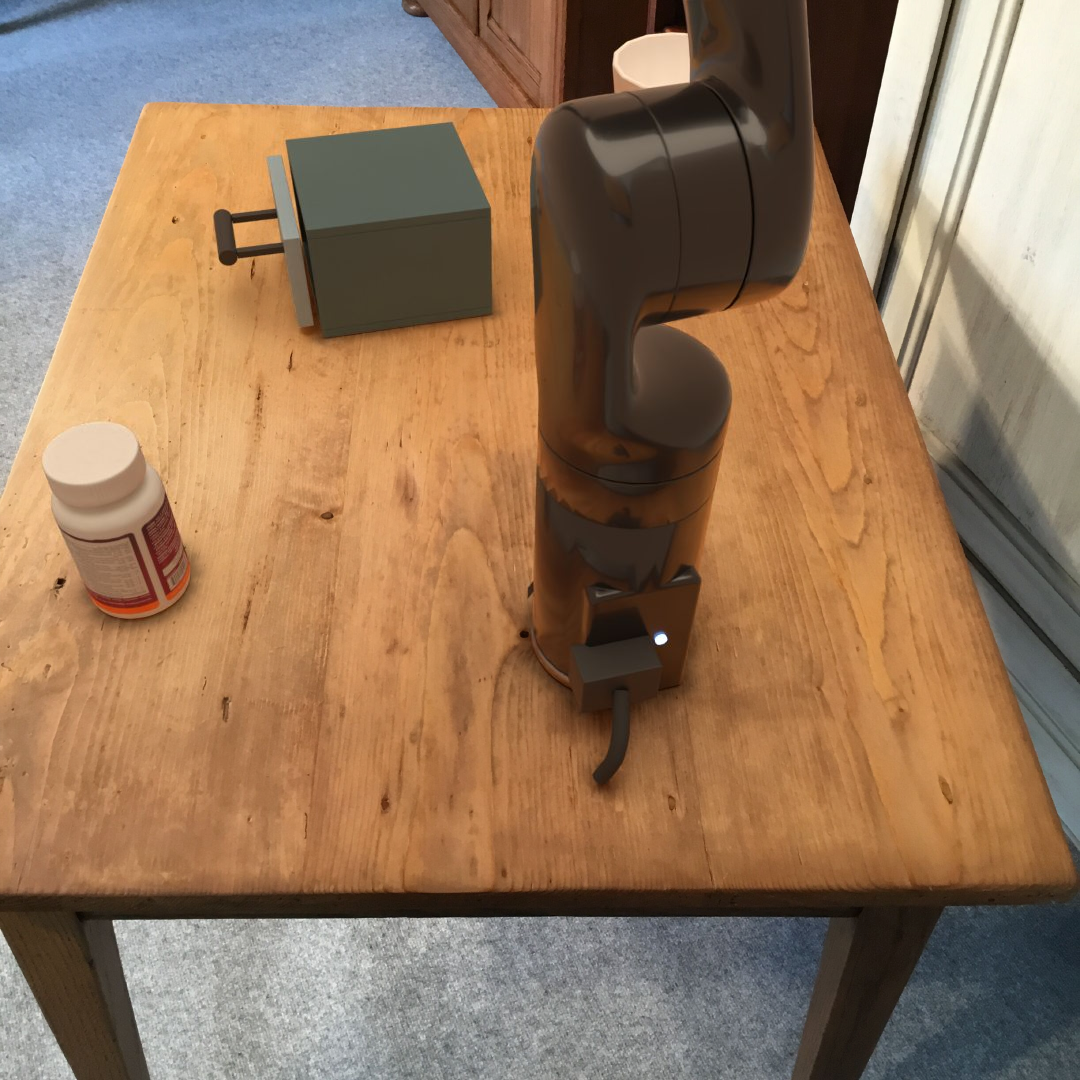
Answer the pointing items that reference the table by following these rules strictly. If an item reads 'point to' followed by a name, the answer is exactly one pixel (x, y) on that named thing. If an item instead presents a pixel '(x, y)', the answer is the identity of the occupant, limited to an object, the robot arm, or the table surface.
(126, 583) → the pill bottle
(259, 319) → the table surface
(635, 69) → the cup
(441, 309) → the cabinet
